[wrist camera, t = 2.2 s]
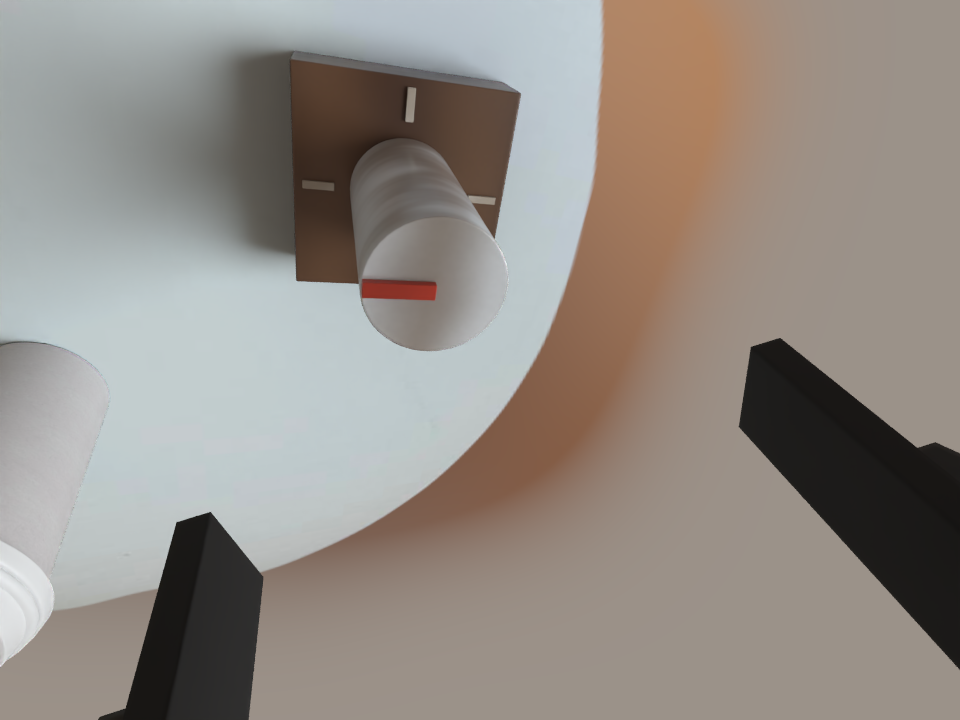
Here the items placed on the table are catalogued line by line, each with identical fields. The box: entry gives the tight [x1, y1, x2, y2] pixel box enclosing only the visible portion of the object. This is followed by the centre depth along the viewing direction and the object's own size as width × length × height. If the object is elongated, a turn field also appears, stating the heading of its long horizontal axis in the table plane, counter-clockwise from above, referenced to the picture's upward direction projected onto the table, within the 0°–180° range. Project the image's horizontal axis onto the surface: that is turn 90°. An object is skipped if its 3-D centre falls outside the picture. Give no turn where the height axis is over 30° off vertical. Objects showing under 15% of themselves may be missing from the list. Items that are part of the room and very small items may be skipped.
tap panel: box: [290, 51, 521, 284], centre depth 27 cm, size 10×10×3 cm
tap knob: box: [350, 138, 508, 351], centre depth 22 cm, size 5×5×10 cm
